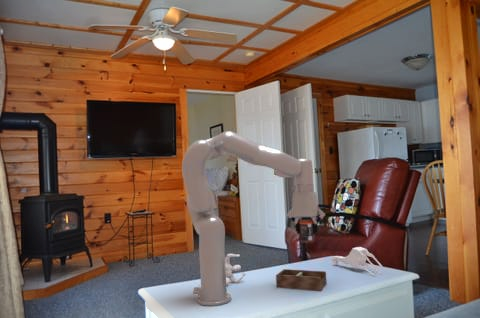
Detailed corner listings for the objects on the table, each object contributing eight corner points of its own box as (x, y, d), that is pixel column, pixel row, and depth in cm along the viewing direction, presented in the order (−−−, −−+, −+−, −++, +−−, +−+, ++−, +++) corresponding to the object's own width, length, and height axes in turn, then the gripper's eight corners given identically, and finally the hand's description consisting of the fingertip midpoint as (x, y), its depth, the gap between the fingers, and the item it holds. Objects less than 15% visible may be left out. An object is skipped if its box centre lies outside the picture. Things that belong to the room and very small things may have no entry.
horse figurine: (375, 293, 163) (335, 262, 183) (384, 260, 158) (342, 233, 179) (367, 295, 160) (328, 264, 181) (376, 262, 156) (335, 234, 176)
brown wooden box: (276, 287, 149) (275, 275, 149) (284, 281, 158) (283, 269, 158) (321, 291, 141) (320, 277, 141) (326, 283, 150) (325, 271, 150)
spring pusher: (295, 284, 147) (294, 276, 147) (300, 279, 154) (300, 272, 154) (297, 285, 146) (297, 276, 147) (302, 280, 153) (302, 272, 153)
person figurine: (212, 265, 147) (238, 249, 161) (191, 269, 155) (218, 253, 169) (223, 297, 146) (248, 278, 161) (201, 299, 154) (227, 280, 168)
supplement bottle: (315, 243, 145) (313, 214, 146) (299, 243, 147) (298, 214, 147) (315, 240, 151) (313, 213, 152) (300, 241, 152) (298, 213, 153)
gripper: (281, 190, 150) (283, 234, 149) (323, 188, 143) (326, 235, 142) (287, 189, 157) (289, 231, 156) (327, 187, 150) (330, 232, 149)
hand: (307, 233), depth 149 cm, fingers closed on supplement bottle, 6 cm apart
